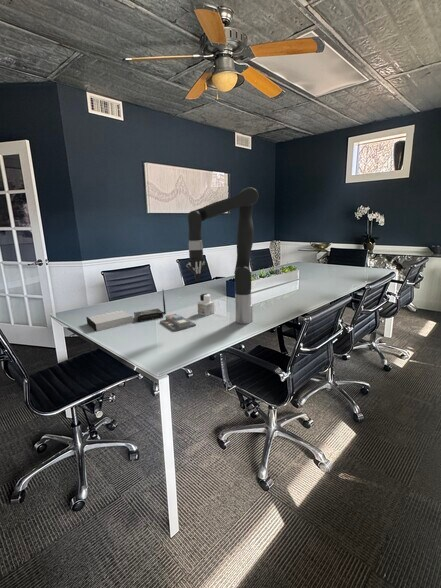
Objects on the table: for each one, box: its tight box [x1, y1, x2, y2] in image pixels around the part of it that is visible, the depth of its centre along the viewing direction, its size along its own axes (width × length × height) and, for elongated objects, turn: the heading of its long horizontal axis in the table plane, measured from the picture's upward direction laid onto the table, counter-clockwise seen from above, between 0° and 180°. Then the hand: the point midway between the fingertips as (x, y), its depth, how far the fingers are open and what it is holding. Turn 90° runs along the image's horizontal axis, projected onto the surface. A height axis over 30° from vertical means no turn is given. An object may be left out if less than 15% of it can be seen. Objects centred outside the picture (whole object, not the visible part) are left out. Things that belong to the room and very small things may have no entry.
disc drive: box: [85, 309, 134, 332], centre depth 181 cm, size 18×22×5 cm
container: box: [197, 293, 215, 317], centre depth 192 cm, size 8×8×13 cm
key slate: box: [172, 314, 183, 321], centre depth 174 cm, size 4×4×2 cm
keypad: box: [159, 313, 197, 332], centre depth 174 cm, size 14×19×4 cm
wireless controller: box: [133, 290, 167, 323], centre depth 188 cm, size 20×14×17 cm
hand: (197, 280), depth 164 cm, fingers closed
